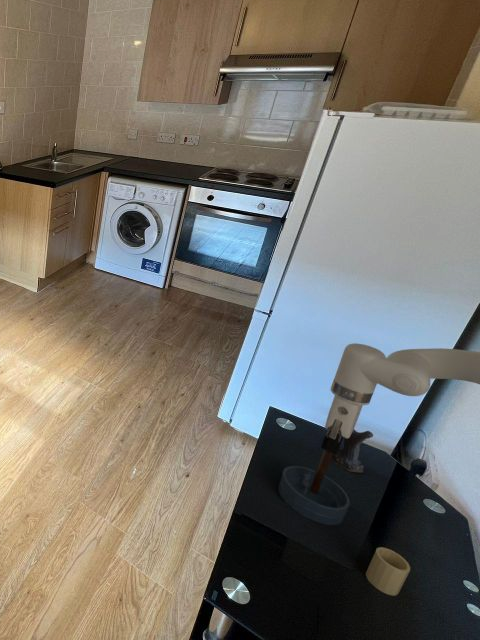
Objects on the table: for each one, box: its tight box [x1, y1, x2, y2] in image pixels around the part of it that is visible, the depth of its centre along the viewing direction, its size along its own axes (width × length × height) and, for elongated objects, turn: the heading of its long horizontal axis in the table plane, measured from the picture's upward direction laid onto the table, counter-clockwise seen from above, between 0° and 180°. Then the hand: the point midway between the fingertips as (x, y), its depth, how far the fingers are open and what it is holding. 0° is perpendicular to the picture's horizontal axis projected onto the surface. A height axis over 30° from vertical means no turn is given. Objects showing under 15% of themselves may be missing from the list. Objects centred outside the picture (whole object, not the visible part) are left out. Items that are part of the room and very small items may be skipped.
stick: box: [310, 434, 339, 494], centre depth 110 cm, size 2×2×20 cm
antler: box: [330, 429, 374, 473], centre depth 124 cm, size 12×8×25 cm
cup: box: [365, 546, 411, 597], centre depth 91 cm, size 5×5×8 cm
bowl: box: [277, 465, 351, 526], centre depth 112 cm, size 14×14×6 cm
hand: (329, 448), depth 108 cm, fingers closed on stick, 1 cm apart
